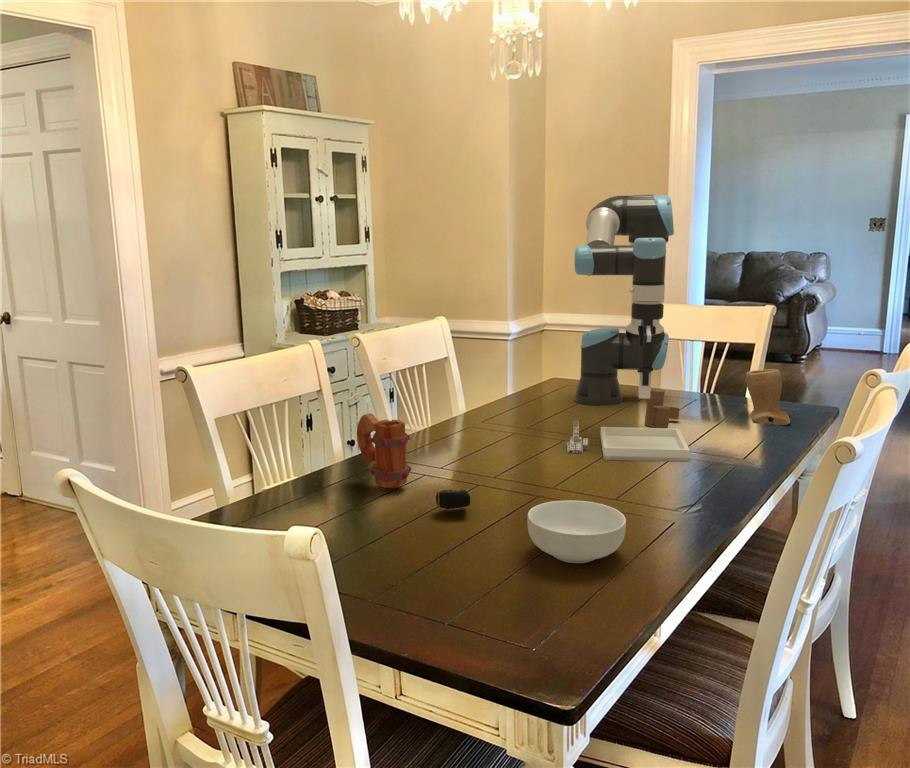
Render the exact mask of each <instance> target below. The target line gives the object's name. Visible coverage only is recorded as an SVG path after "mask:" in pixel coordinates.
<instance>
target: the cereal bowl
mask: <svg viewBox="0 0 910 768" xmlns="http://www.w3.org/2000/svg"><path fill="white" fill-rule="evenodd" d="M526 521H527V522H526V523H527V530H528V532H527V533H528V534H529V537H530V540H531V541H532V542H533V544H534V545H535V546H536V547H538V548H539V549H540V550H541V551H543V552H544V553H546V554H547V555H551V556H553V558H555V559H557V560H559V561H561V562H565V563H570V564H586V563H591V562H593V561H595V560H599V559H602V558H605V557H608V556H609V555H611V554H612V553H614V552H616V550H618V549H619V547H620V546H621V545H622V544H623V541H624V539H625V536H626V529H627V518H626V517H625V515H624V514H623V513H622V512H621V511H619V510H618V509H616V508H614V507H612V506H609V505H606V504H603V503H600V502H594V501H587V500H574V499H573V500H571V499H570V500H569V499H568V500H553V501H548V502H547V501H546V502H544V503H540V504H538V505H535V506H533V507H531V508H530V509H529V510H528V512H527V519H526Z"/></svg>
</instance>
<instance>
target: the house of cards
mask: <svg viewBox="0 0 910 768" xmlns="http://www.w3.org/2000/svg"><path fill="white" fill-rule="evenodd" d="M572 422H573V425H572V426H573V427H572V428H573V430H572V431H573V433H572V436H570V440H569V441H566V445H567V446H566V447H567V448H566V449H567V452H566V454H583V453H584V451H588V450H589V438H588V437H586V438H582V436H580V426H579V423H580V422H579V420H574V421H572Z"/></svg>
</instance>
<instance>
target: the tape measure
mask: <svg viewBox="0 0 910 768" xmlns="http://www.w3.org/2000/svg"><path fill="white" fill-rule="evenodd" d="M471 501H472V500H471V496H470V493H468V491H467V490H465V489H442V490H438V491H437V492H436V495H435V503H436V505H437V507H438V508H439V509H444V510H445V511H451V510H454V509H461V510H462V509H463V508H465V507H468V506H470V504H471Z"/></svg>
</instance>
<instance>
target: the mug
mask: <svg viewBox="0 0 910 768" xmlns="http://www.w3.org/2000/svg"><path fill="white" fill-rule="evenodd" d="M372 432H374V433H373V435H372ZM356 438H357V439H356V440H357V443H358V449H359V451H360V453H361V456H362V458H364V460H365V462H366V463H368V464H369V463H373V462H374V464H373V466H372V468H371V469H370V470H369V473H370V474H371V475H372V476H373V478H374V482H375V484H376V485H377V486H379V487H381V488H384V489H395V488H399V487H401V486H403V485H405V484H406V483H407V480H408V477H409V476H410V475H409V474H410V472H411V471H412V467H411V466H409V464H408V463H407V451H408V450H407V444H408V441H409V440H411V436H410V435H409V434H408V433H407V432H406V424H405V421H402V420H400V419H391V420H389V419H381V420H379V419H378V418H377V417H376V416H375V415H374V414H373V413H370V412H369V413H366V414H363V415H361V417H360V419H359V421H358V423H357V427H356Z"/></svg>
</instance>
